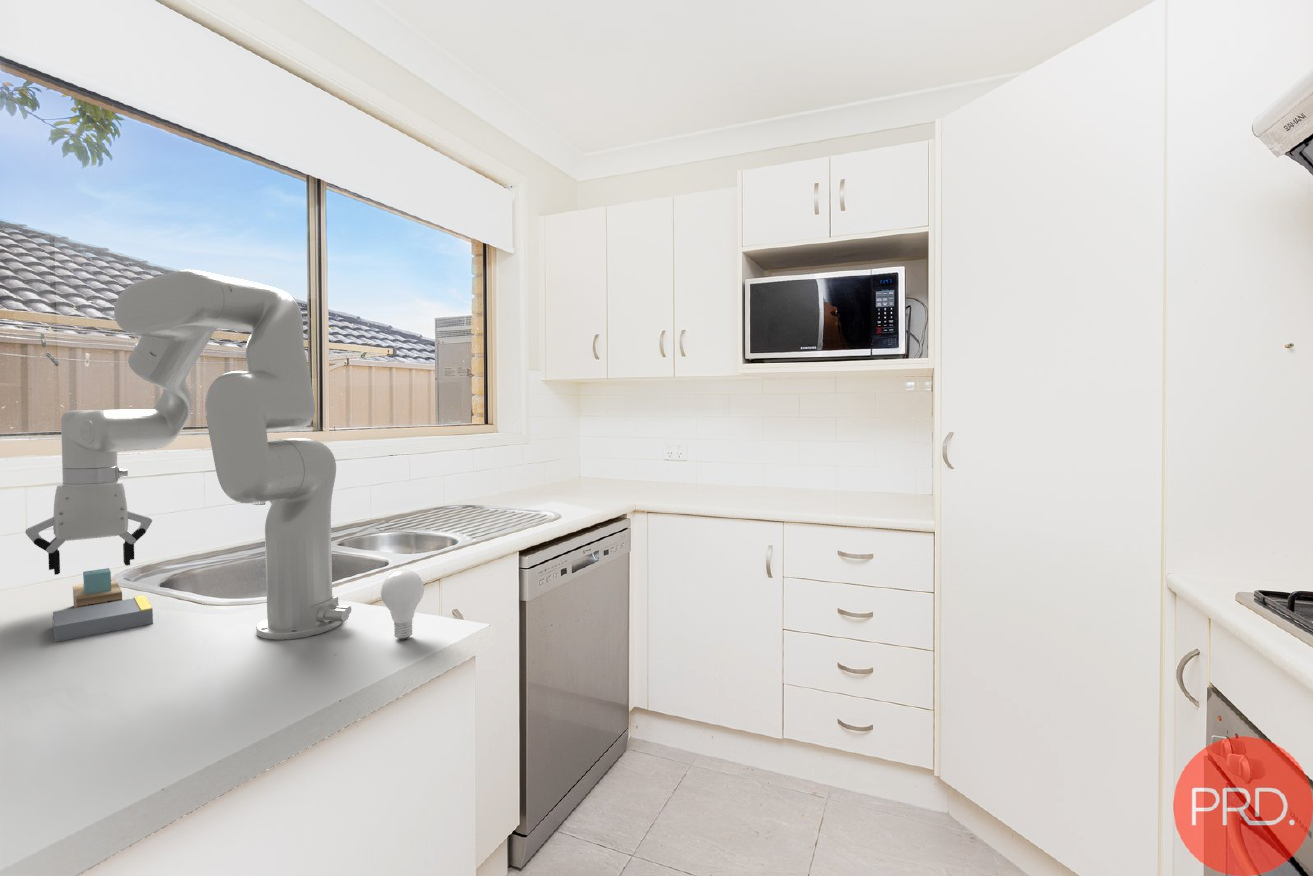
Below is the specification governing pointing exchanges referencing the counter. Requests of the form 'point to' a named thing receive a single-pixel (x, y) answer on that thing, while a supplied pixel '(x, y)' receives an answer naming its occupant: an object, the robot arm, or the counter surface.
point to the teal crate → (97, 581)
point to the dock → (101, 618)
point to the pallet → (96, 595)
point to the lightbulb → (402, 599)
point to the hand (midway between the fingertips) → (93, 568)
